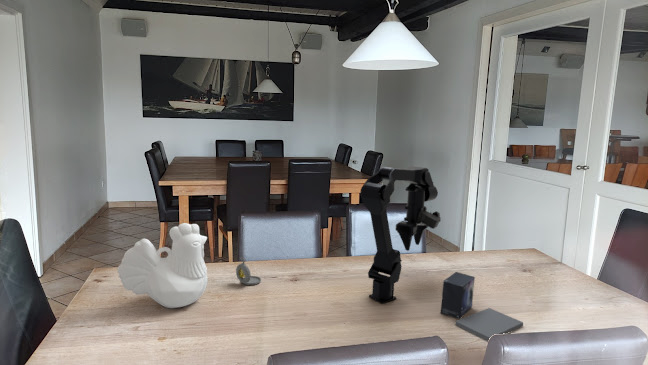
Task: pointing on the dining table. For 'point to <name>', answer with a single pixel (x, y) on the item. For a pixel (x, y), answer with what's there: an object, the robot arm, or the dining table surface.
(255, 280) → the pocket watch
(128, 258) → the decorative rooster
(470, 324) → the mat
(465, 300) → the small box
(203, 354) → the dining table surface
